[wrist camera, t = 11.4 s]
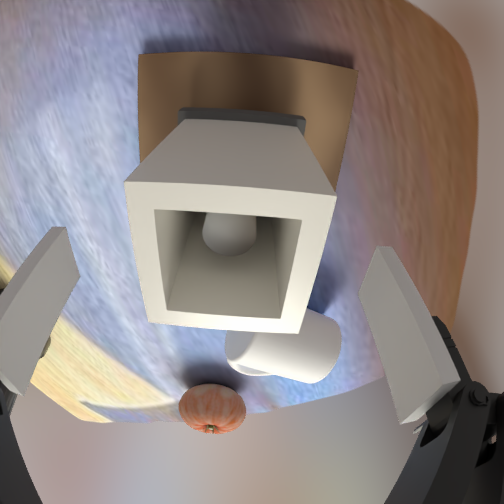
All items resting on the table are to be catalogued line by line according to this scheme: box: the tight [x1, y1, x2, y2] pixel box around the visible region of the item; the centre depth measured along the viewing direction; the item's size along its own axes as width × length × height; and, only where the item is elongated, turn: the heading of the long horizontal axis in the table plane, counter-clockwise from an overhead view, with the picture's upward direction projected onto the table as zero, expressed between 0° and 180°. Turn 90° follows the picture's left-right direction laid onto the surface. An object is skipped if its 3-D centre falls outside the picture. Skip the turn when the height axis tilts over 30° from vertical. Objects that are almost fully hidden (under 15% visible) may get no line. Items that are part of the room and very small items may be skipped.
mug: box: [225, 308, 341, 383], centre depth 32 cm, size 12×10×8 cm
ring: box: [178, 107, 306, 137], centre depth 20 cm, size 8×8×2 cm
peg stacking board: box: [138, 52, 358, 256], centre depth 18 cm, size 16×16×12 cm
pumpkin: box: [179, 384, 246, 434], centre depth 43 cm, size 11×11×8 cm
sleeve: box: [124, 119, 337, 334], centre depth 15 cm, size 7×7×10 cm
